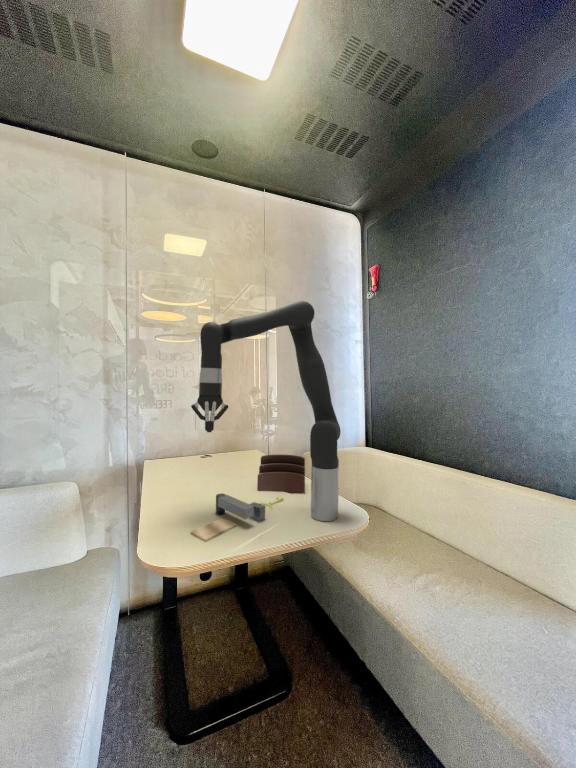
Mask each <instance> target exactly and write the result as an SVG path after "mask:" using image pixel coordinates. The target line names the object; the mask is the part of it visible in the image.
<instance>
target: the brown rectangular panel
mask: <svg viewBox="0 0 576 768" xmlns="http://www.w3.org/2000/svg"><path fill="white" fill-rule="evenodd" d="M237 527H238V523H236V522H233V521H232V520H230V519H226V518H223V517H221V518H218V519H216V520H214V521H212V522H210V523H207V524H205V525H203V526H201V527H198V528H196V529H193V530H192V531H190V535H192V536H193V537H195V538H197V539H200V540H201V541H203V542H205V543H207V542H209V541H211V540H212V539H215V538H216V537H219V536H221V535H223V534H225V533H226V532H228V531H230V530H233V529H235V528H237Z"/></svg>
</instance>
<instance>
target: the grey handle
mask: <svg viewBox="0 0 576 768" xmlns="http://www.w3.org/2000/svg"><path fill="white" fill-rule="evenodd" d="M250 504H251V503H247V502H244V501H242V500H240V499H238V498H236V497H233V496H231V495H229V494H226V493H218V494H215V514H216V515H217V516H218V515H219V516H222V515H225V514H226V512H229V513H230V514H233V515H234V516H237V517H239V518H241V519H244V520H247V519H251V518H250V517H252V516H254V506H252V505H250Z"/></svg>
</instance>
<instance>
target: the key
mask: <svg viewBox="0 0 576 768" xmlns="http://www.w3.org/2000/svg"><path fill="white" fill-rule="evenodd" d="M282 501H284V497H283V496H281V497H280V496H277V497H276V499H275V500H274V501H272V502H270V501H269V502H268V503H266V502H259V503H258V502H257V503H258V504H261V505H264V506H265V507H266V506H267V507H269V509H267V510H266V511H267V512H269V511H272V510H273V505H275V504H276V505H277V503H280V502H282Z"/></svg>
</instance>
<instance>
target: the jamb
mask: <svg viewBox="0 0 576 768" xmlns="http://www.w3.org/2000/svg"><path fill="white" fill-rule="evenodd" d="M249 504H250V505H252V506H254V516H252V517H250V518H249V519H251V520H254V521H256V522H258V523H261V522H263V521H265V520H266V505H262V504H258V502H256V501H253V502H251V503H249Z"/></svg>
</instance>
